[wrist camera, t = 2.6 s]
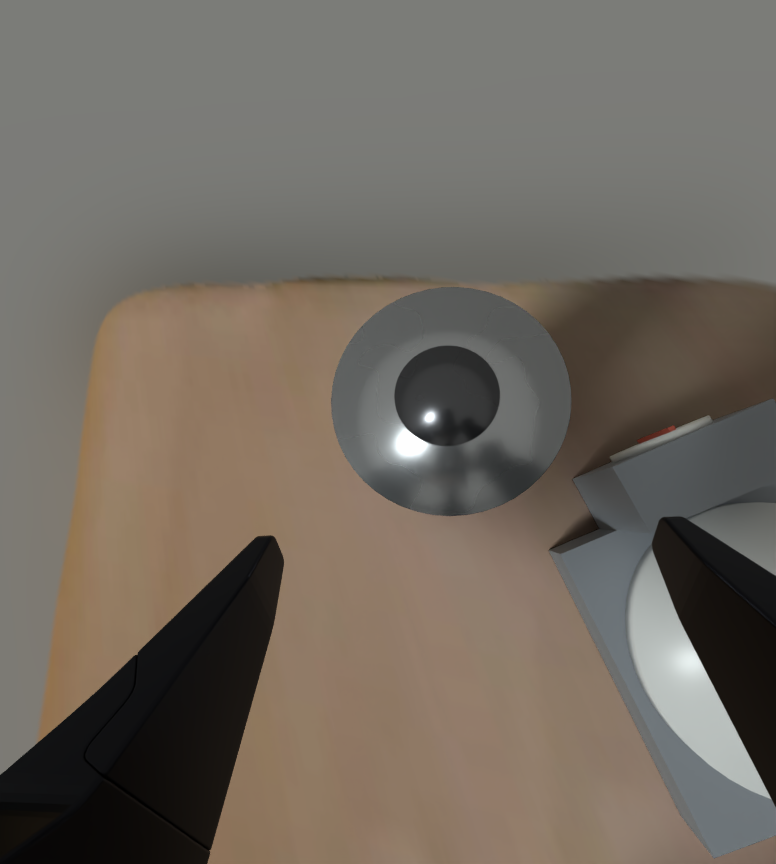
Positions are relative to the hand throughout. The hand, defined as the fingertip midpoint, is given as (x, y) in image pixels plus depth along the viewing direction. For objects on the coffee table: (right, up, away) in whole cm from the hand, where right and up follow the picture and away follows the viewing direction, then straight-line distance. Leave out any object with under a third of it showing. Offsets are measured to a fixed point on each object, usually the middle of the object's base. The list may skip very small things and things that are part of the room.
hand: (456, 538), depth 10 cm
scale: (+12, -4, +8) cm, 15 cm away
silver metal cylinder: (+1, +1, +11) cm, 11 cm away
